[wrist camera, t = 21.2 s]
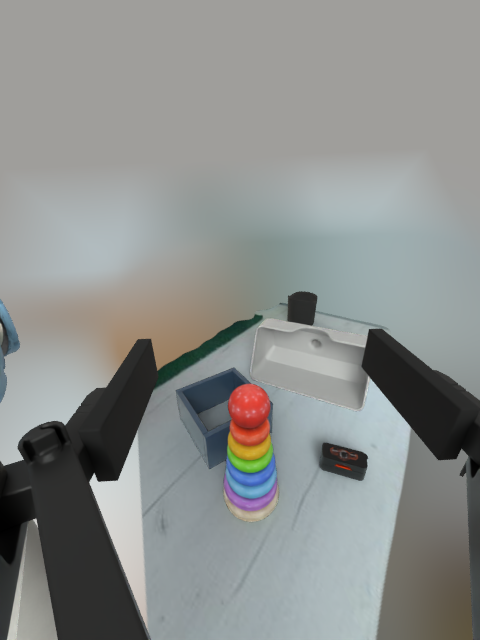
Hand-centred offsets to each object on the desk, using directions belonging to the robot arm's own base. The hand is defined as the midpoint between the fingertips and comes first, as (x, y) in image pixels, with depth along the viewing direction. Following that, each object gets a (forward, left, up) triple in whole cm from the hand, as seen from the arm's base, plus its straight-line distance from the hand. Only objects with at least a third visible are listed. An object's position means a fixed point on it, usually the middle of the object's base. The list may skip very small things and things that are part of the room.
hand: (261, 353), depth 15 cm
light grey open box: (-23, +33, -30) cm, 50 cm away
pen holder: (-45, +52, -30) cm, 75 cm away
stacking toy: (-8, +5, -30) cm, 32 cm away
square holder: (-21, +8, -30) cm, 38 cm away
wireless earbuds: (-3, +20, -30) cm, 36 cm away
